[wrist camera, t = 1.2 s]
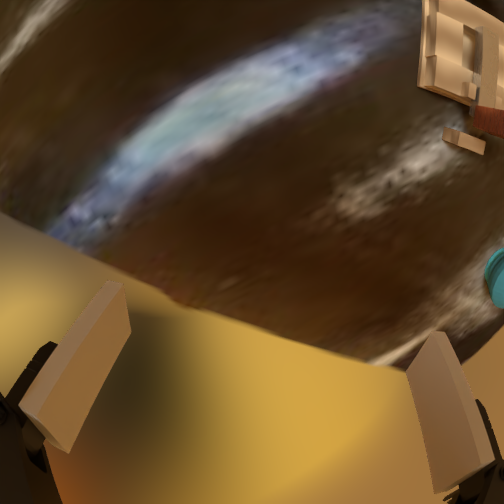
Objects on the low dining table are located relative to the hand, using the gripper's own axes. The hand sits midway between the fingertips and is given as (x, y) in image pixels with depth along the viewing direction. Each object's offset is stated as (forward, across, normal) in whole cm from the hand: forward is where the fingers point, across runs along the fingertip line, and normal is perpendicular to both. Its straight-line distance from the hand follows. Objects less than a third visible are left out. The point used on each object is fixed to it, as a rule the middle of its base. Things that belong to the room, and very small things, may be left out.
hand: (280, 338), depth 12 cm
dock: (+25, +19, +18) cm, 36 cm away
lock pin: (+21, +19, +18) cm, 33 cm away
